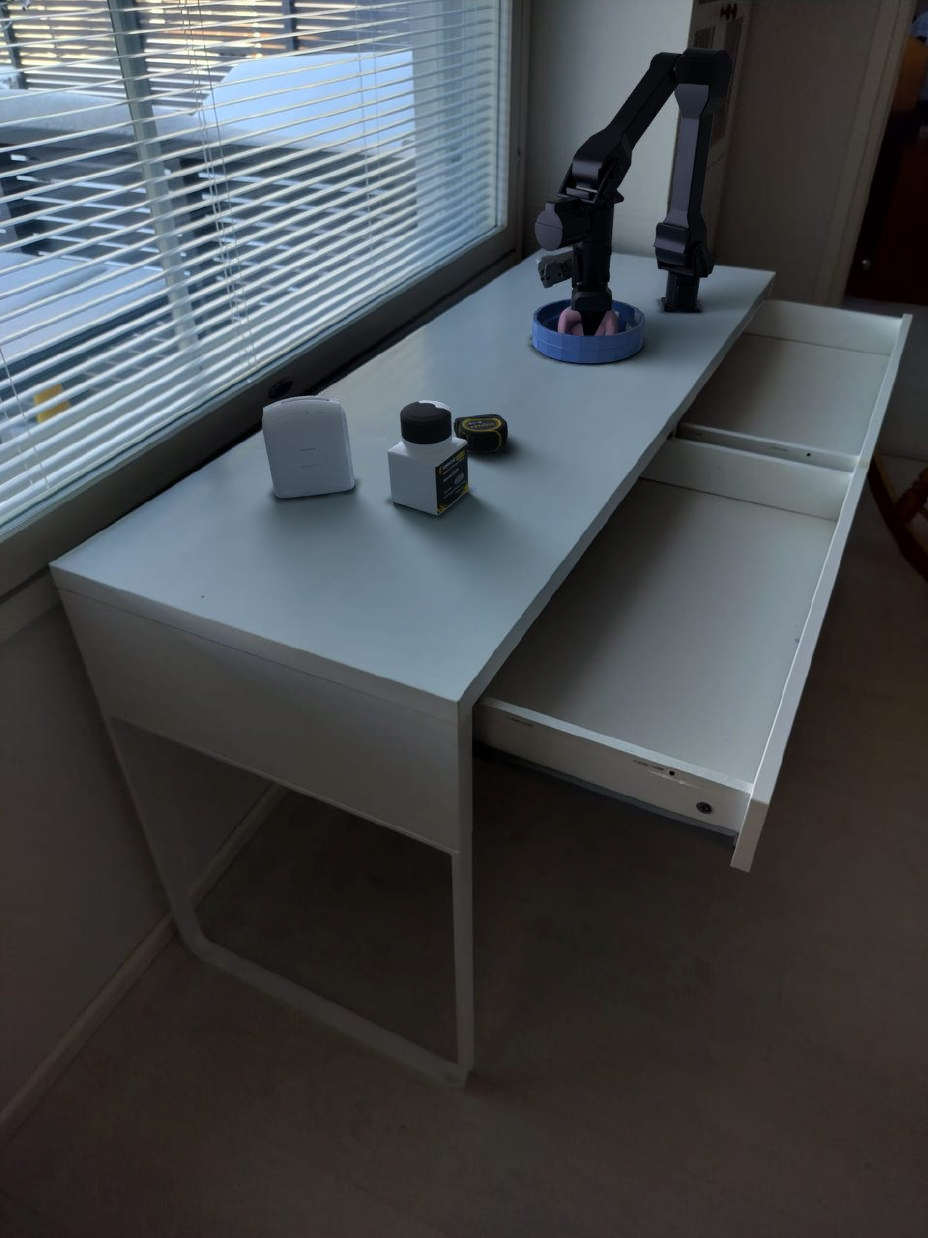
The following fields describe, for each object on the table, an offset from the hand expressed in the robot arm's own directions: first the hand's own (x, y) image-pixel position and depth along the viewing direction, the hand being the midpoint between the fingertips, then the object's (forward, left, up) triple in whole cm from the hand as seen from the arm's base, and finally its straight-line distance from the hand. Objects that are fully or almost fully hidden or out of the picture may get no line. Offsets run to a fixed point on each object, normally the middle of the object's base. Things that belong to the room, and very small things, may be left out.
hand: (587, 335), depth 148 cm
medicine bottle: (+51, -20, -2) cm, 55 cm away
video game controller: (0, 0, -1) cm, 1 cm away
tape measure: (+37, -15, -2) cm, 40 cm away
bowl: (0, 0, -1) cm, 1 cm away
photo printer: (+50, -35, -2) cm, 61 cm away
